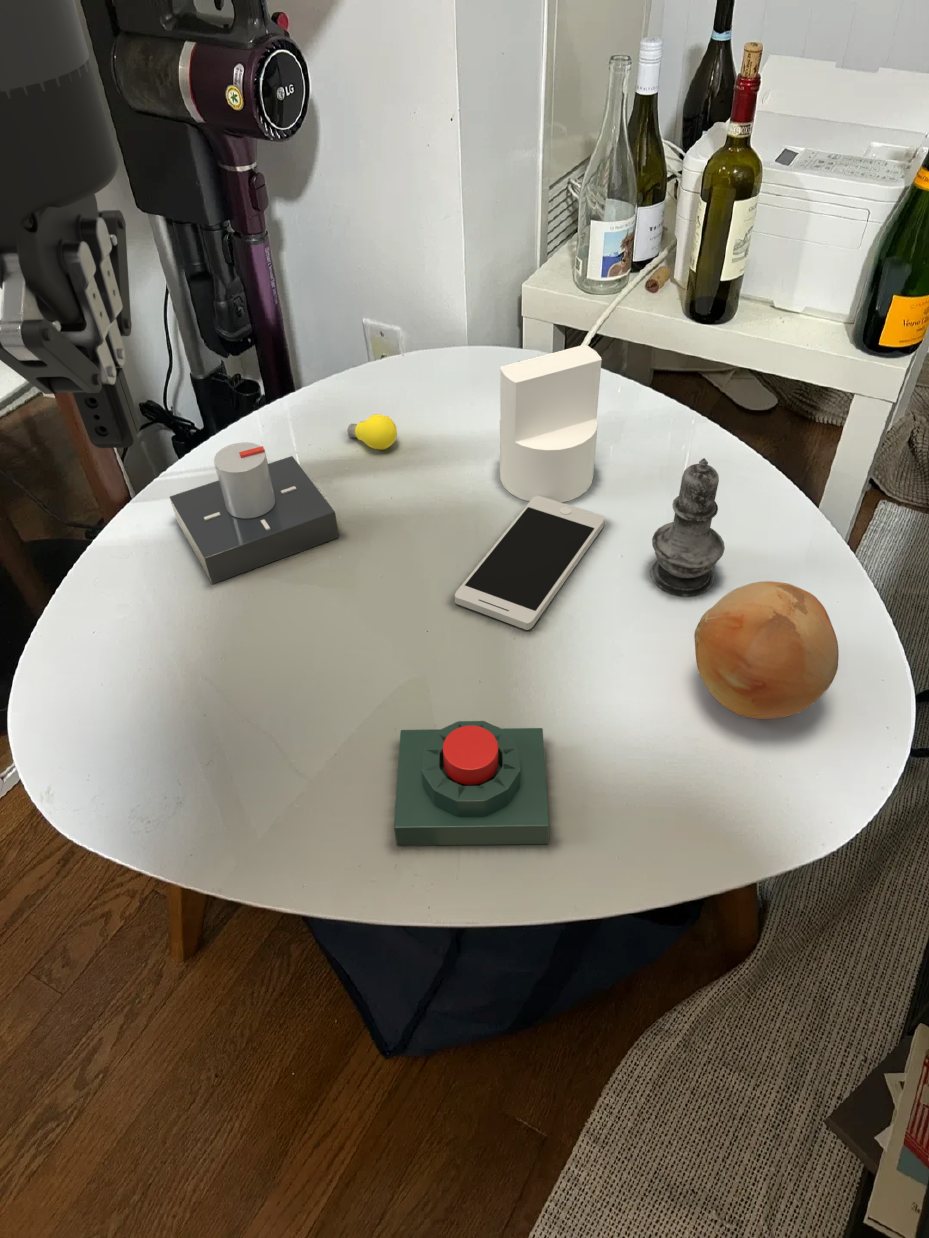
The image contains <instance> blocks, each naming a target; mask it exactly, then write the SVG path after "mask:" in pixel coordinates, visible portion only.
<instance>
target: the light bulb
mask: <svg viewBox="0 0 929 1238" xmlns="http://www.w3.org/2000/svg"><path fill="white" fill-rule="evenodd" d="M346 431H347V435H348V436H349V437H350V438H354V439H355V438H357V440H359V441H362V442H363V443H364V444H365V445H367V446H368V447H369V448H371V449H375V450H380V451H382V450H387V449H388V448H389V447H391V446H392V445H393V444H394V443H395V441H396V438H397V435H398V430H397V425H396V423H395V422H394V420H393V419H392V418H391V417H390V416H387V415H383V414H378V413H376V414H372V415H371V416H369V417H368V418H366V419H365V420H362V421H359V422H358V423H349V425H348V426H347V429H346Z"/></svg>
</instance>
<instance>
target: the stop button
mask: <svg viewBox="0 0 929 1238" xmlns="http://www.w3.org/2000/svg"><path fill="white" fill-rule="evenodd" d="M443 759H444V768H445V771H446V773H447V774H448V775H449V777H450V778H451V779H453V780H454V781H456V782H458V783H460V784H464V785H478V784H481V783H484V782H486V781H487V780H489V779H490V778H491V777H492V776H493V775H494V774H495V772H496V770H497V768H498V743H497V740H496V738H495V737H494V735H493V734H492V733H491V732H489V731H488V730H486V729H484V728H482V727H479V726H463V727H460V728H457V729H455V730H454V731H452V732H451V733H450V734H449V735H448V736H447V737H446V739H445V741H444V744H443Z"/></svg>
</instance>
